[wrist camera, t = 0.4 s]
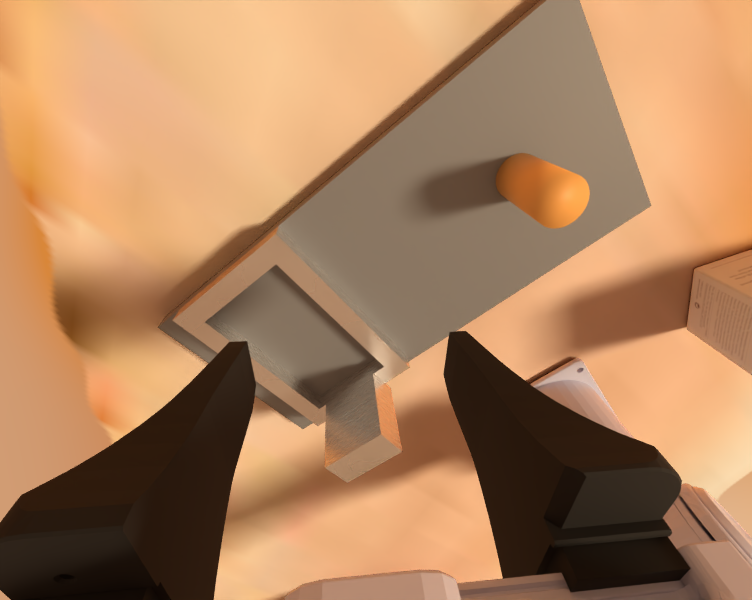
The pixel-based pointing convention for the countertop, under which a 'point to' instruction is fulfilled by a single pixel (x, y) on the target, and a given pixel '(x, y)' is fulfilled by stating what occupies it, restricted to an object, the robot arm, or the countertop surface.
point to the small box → (724, 307)
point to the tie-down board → (444, 207)
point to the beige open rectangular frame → (336, 406)
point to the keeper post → (543, 190)
